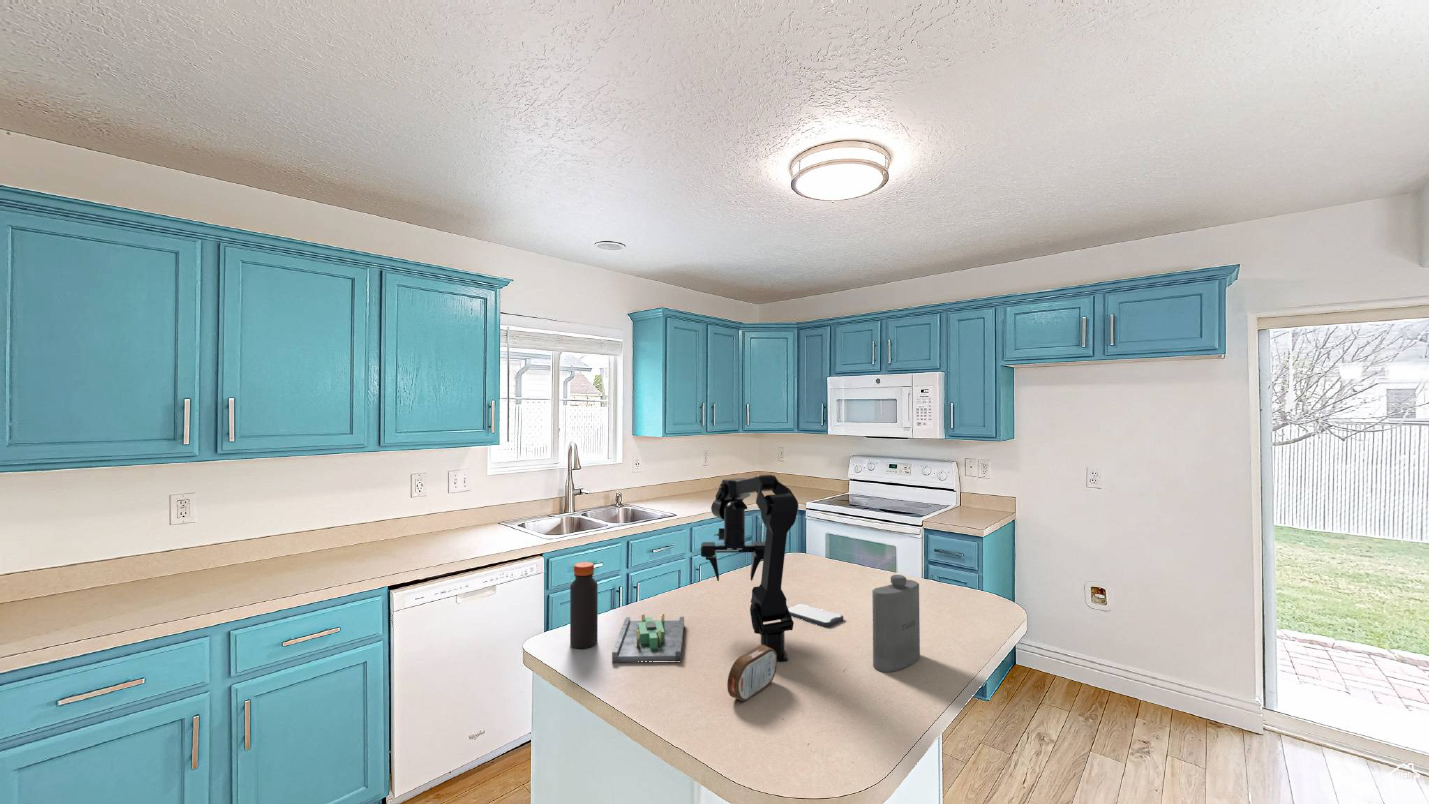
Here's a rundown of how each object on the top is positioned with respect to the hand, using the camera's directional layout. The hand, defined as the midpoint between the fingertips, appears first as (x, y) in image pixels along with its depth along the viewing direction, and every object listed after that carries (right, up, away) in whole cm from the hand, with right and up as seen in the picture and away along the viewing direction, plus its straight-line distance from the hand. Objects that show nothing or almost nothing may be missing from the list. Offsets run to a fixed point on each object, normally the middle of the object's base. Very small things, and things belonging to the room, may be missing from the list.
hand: (734, 580), depth 153 cm
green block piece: (-22, -10, -12) cm, 27 cm away
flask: (+37, -12, -24) cm, 46 cm away
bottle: (-39, -12, -13) cm, 43 cm away
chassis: (-22, -12, -13) cm, 28 cm away
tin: (+3, -12, -37) cm, 39 cm away
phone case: (+23, -13, +5) cm, 26 cm away
